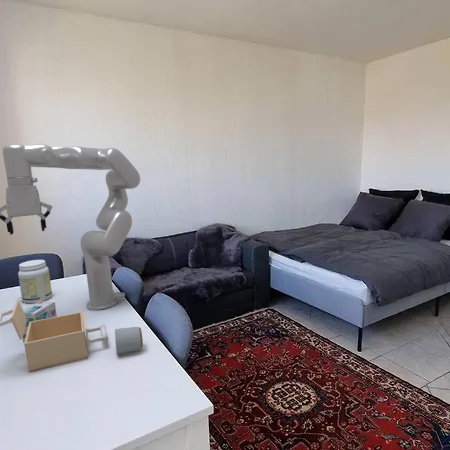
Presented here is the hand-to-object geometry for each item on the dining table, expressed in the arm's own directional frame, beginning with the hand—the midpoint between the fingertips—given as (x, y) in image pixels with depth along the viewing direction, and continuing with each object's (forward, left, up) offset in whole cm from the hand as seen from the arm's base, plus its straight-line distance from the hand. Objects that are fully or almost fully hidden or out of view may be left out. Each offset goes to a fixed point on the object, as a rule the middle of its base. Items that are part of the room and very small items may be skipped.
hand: (27, 232), depth 125 cm
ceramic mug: (-26, +29, -37) cm, 54 cm away
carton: (-9, +21, -36) cm, 43 cm away
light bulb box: (0, +5, -37) cm, 37 cm away
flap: (+3, +21, -23) cm, 31 cm away
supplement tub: (+4, -36, -36) cm, 51 cm away
